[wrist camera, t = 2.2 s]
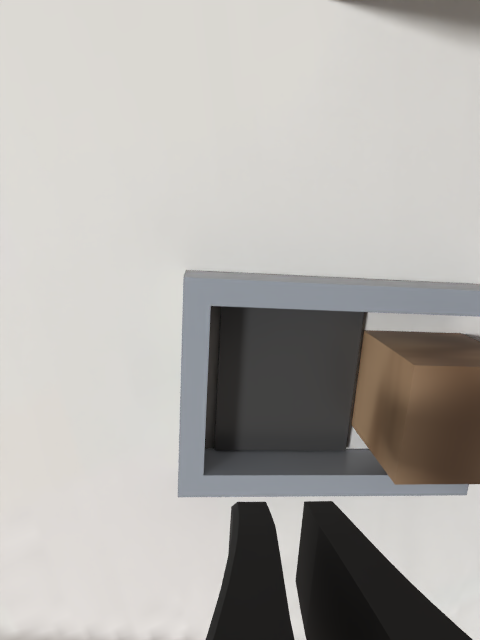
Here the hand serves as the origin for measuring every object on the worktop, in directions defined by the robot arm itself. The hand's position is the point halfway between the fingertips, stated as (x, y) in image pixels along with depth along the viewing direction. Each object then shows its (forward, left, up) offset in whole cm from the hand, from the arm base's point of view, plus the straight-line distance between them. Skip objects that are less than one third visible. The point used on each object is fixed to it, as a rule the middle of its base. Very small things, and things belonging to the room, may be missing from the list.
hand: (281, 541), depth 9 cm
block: (-4, -7, -10) cm, 12 cm away
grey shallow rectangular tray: (-2, -4, -9) cm, 10 cm away
